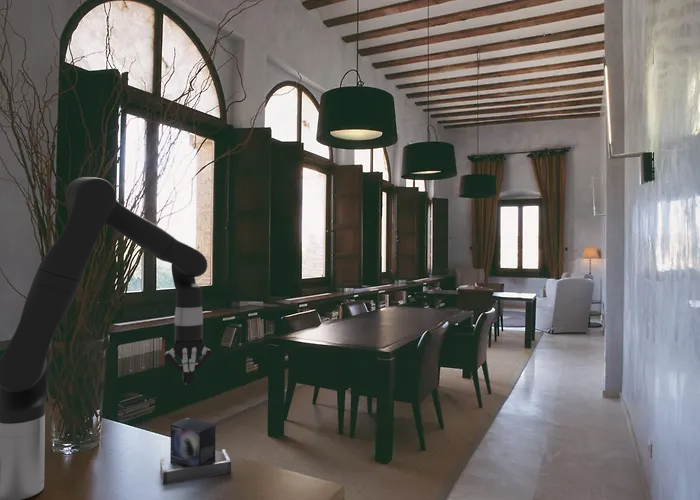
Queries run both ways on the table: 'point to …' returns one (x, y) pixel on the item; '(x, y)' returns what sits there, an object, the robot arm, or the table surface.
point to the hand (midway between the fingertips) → (188, 384)
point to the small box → (192, 442)
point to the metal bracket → (196, 471)
